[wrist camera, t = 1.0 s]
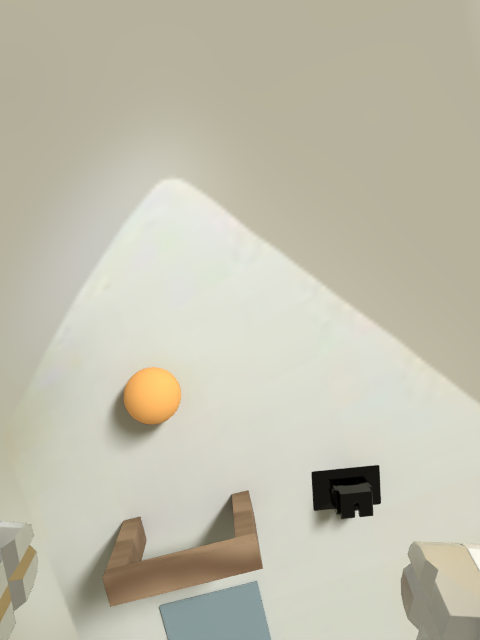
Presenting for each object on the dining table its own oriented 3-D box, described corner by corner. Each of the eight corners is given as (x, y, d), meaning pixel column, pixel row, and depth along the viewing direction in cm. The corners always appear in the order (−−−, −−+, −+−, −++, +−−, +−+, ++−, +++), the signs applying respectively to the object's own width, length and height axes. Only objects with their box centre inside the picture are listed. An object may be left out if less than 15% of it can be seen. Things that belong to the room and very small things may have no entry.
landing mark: (277, 667, 54) (277, 669, 54) (183, 692, 54) (183, 693, 54) (256, 581, 53) (257, 582, 53) (159, 605, 52) (159, 606, 52)
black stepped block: (295, 518, 53) (303, 540, 48) (292, 460, 52) (299, 478, 48) (395, 507, 54) (412, 529, 49) (393, 450, 53) (410, 467, 48)
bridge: (253, 513, 52) (262, 568, 42) (129, 544, 51) (110, 606, 42) (248, 490, 52) (256, 540, 42) (123, 520, 51) (102, 578, 41)
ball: (188, 407, 50) (184, 425, 44) (137, 419, 50) (126, 439, 44) (176, 356, 49) (170, 368, 43) (123, 369, 49) (111, 382, 43)
